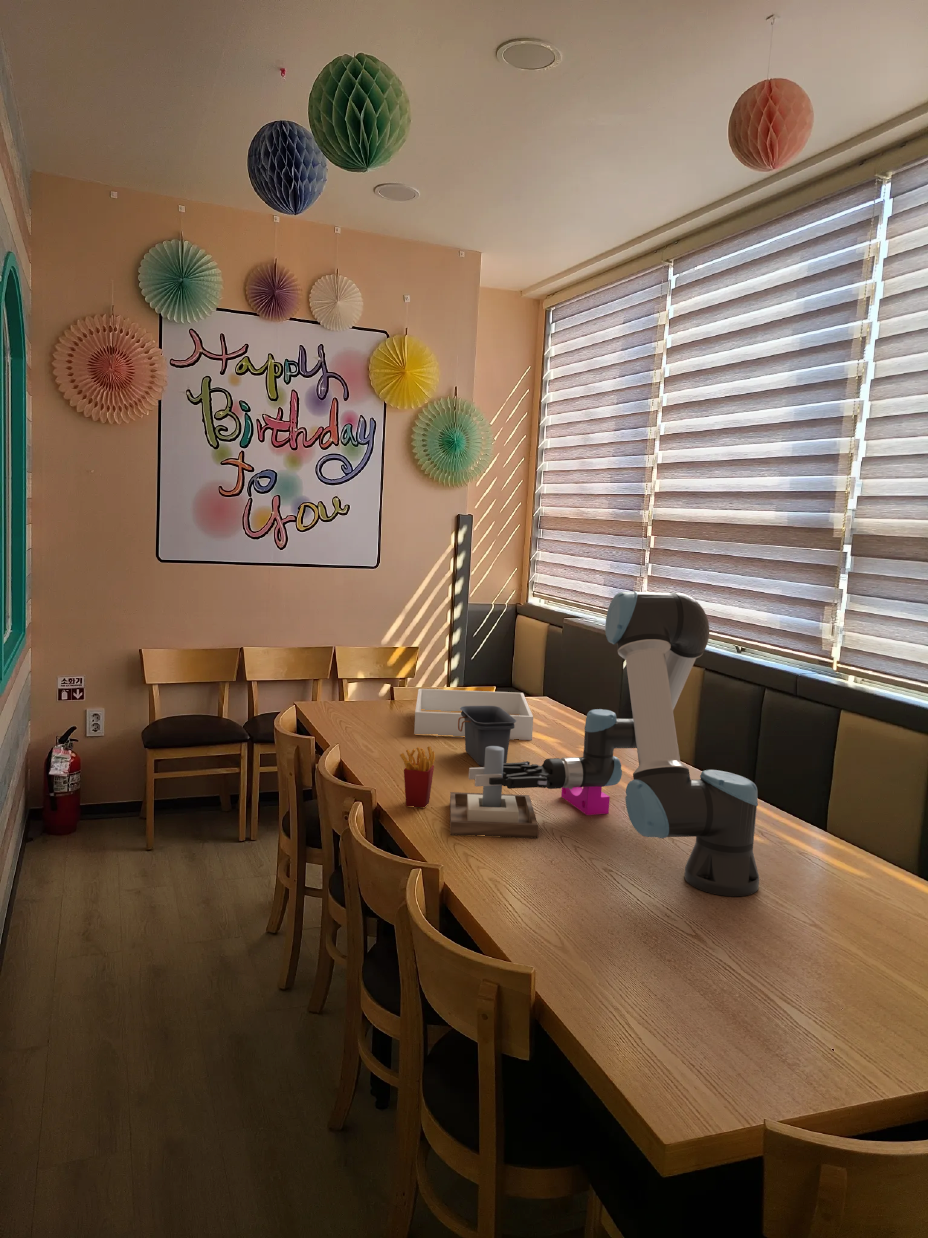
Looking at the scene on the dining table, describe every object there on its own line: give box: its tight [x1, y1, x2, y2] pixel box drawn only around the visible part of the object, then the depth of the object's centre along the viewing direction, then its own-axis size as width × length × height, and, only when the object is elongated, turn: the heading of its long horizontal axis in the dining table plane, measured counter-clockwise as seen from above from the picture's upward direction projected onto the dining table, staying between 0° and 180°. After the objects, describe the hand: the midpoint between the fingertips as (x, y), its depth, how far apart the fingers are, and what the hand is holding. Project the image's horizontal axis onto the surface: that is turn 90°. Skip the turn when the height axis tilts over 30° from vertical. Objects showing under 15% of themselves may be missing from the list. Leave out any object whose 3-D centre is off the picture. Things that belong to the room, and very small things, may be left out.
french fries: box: [399, 746, 436, 808], centre depth 233 cm, size 9×8×15 cm
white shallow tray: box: [413, 688, 534, 741], centre depth 322 cm, size 39×39×8 cm
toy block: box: [560, 787, 611, 816], centre depth 238 cm, size 15×6×8 cm, turn 20°
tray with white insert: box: [449, 791, 539, 839], centre depth 223 cm, size 22×20×3 cm
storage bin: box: [458, 706, 516, 767], centre depth 277 cm, size 21×16×14 cm
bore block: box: [467, 794, 519, 823], centre depth 223 cm, size 12×12×4 cm
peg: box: [482, 746, 504, 807], centre depth 223 cm, size 5×5×16 cm
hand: (472, 777), depth 221 cm, fingers closed on peg, 4 cm apart
